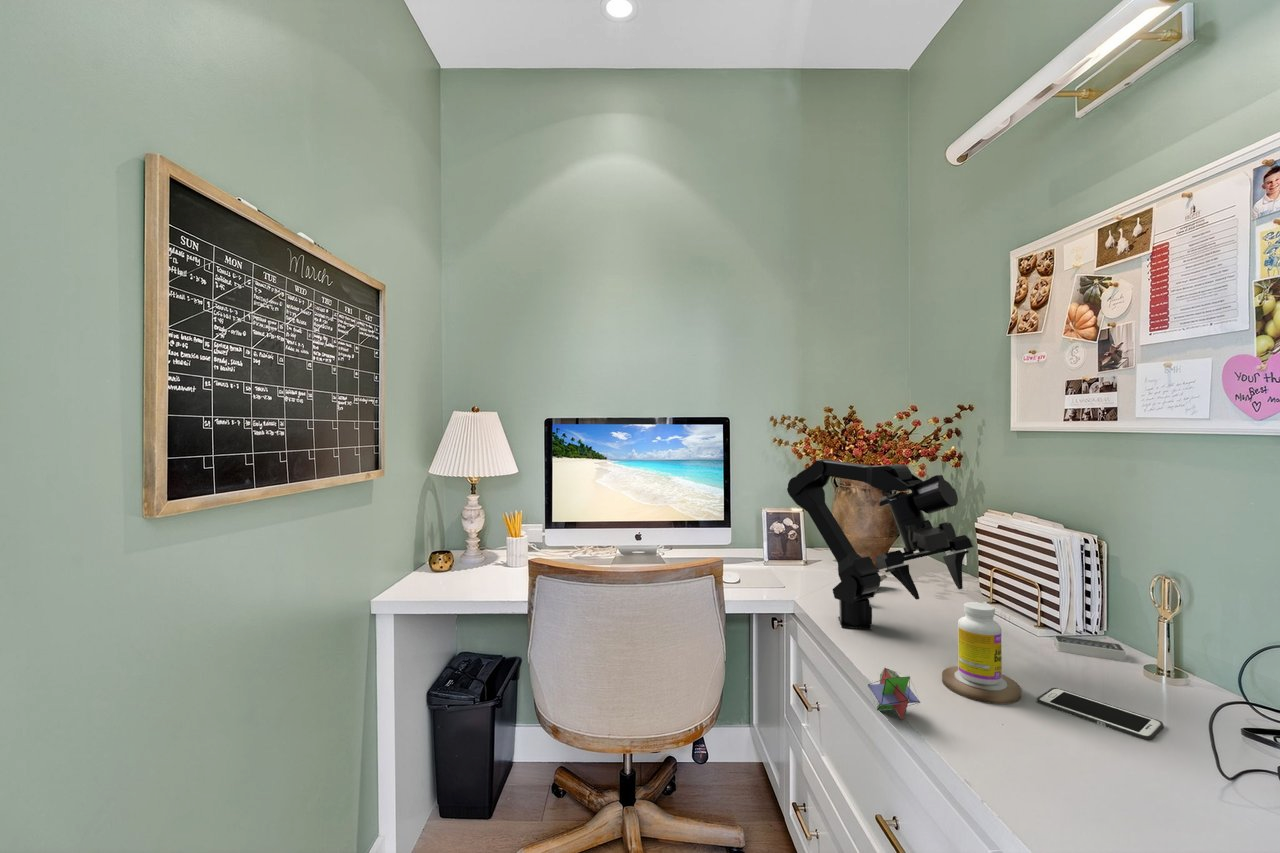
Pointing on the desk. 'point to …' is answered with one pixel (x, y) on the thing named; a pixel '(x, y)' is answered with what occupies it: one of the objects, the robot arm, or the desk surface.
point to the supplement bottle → (979, 645)
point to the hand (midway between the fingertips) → (939, 594)
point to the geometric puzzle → (893, 692)
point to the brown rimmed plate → (982, 688)
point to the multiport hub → (1090, 648)
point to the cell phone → (1102, 713)
